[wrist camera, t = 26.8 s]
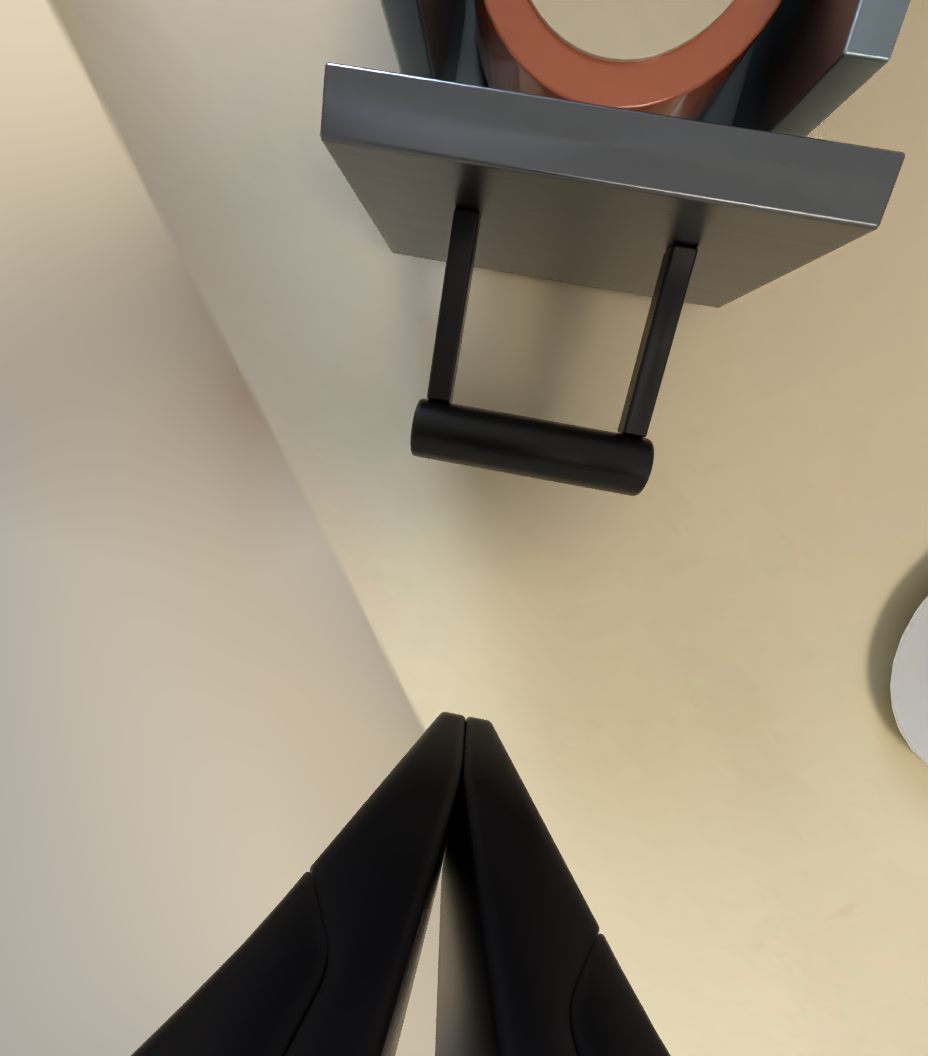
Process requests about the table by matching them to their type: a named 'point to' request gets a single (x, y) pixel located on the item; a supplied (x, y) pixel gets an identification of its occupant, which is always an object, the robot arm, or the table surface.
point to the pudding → (912, 683)
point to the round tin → (619, 49)
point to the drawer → (605, 200)
